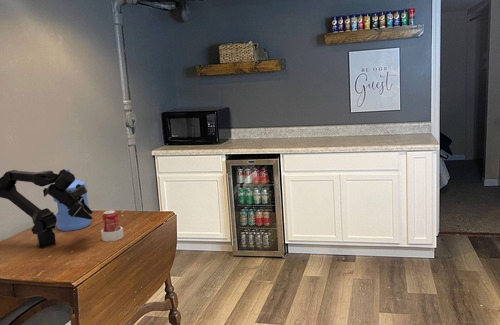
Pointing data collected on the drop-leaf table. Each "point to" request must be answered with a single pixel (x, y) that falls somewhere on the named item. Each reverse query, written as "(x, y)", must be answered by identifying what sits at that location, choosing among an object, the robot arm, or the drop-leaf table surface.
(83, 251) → the drop-leaf table surface
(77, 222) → the water jug
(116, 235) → the ring
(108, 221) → the beverage can
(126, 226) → the drop-leaf table surface
